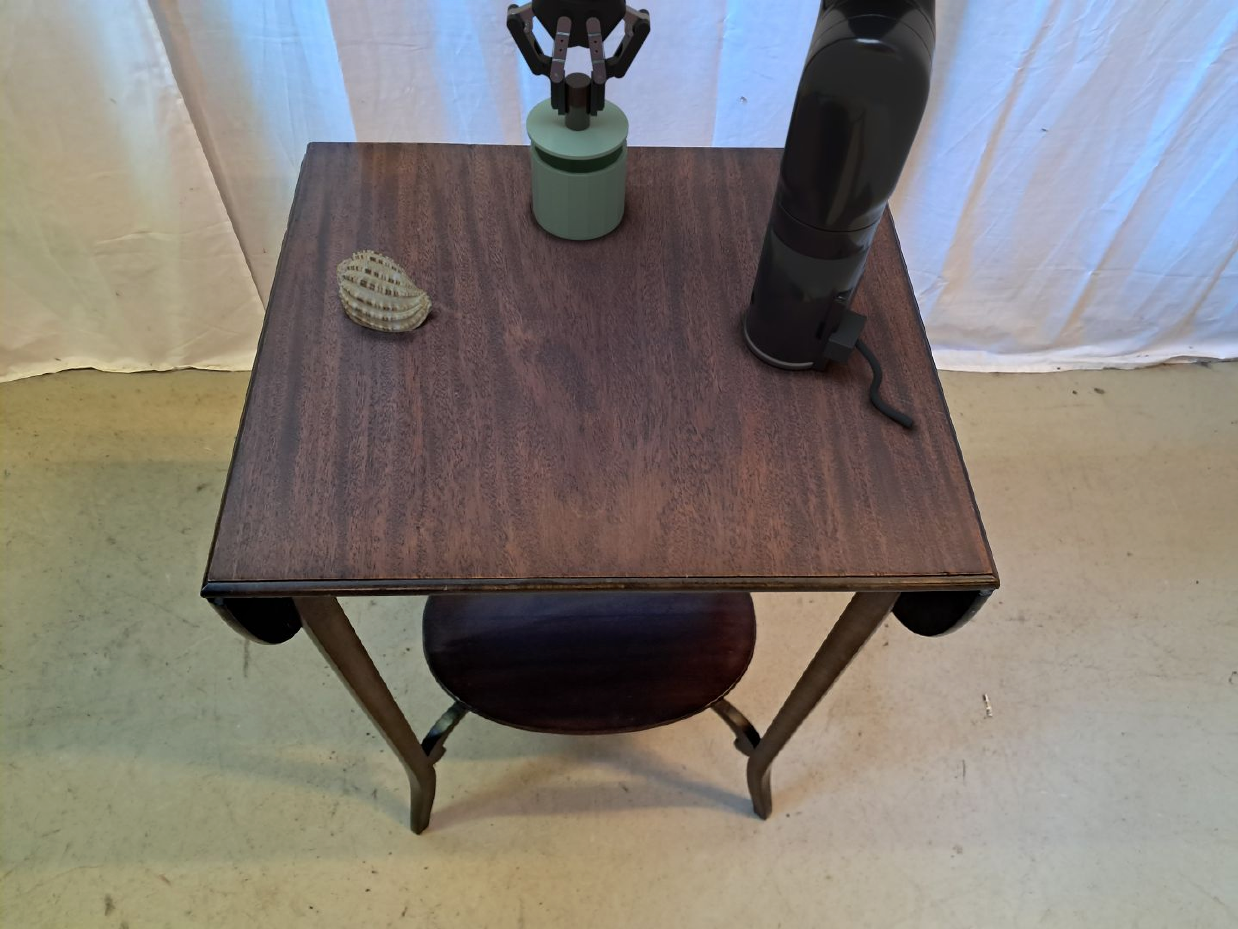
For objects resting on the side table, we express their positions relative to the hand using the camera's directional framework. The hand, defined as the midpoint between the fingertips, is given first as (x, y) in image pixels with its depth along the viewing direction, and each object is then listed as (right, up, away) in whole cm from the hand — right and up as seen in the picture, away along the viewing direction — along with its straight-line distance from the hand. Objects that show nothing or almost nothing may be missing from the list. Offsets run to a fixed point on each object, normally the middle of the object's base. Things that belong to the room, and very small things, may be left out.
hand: (578, 110), depth 88 cm
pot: (0, -7, +10) cm, 12 cm away
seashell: (-19, -20, +1) cm, 28 cm away
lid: (0, -1, +2) cm, 2 cm away
